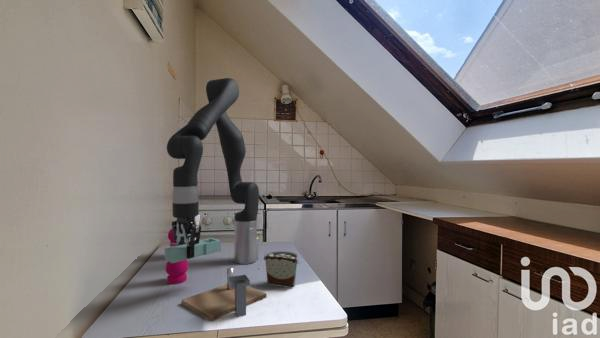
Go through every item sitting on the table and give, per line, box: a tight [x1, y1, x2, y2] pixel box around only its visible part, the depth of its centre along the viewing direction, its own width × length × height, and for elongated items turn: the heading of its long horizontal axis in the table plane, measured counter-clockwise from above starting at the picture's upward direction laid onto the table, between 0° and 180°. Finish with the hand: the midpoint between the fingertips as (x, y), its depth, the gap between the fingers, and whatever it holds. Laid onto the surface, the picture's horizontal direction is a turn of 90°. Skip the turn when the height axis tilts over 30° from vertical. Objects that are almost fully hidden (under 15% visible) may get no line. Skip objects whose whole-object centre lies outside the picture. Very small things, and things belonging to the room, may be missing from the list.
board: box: [180, 283, 267, 322], centre depth 88 cm, size 19×15×1 cm
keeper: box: [228, 274, 251, 317], centre depth 81 cm, size 6×5×8 cm
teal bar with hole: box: [164, 237, 222, 263], centre depth 94 cm, size 16×5×4 cm, turn 140°
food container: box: [263, 250, 300, 288], centre depth 102 cm, size 12×6×10 cm, turn 71°
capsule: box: [226, 267, 234, 290], centre depth 93 cm, size 2×2×8 cm
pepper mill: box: [165, 228, 189, 285], centre depth 103 cm, size 7×7×20 cm
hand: (186, 255), depth 92 cm, fingers closed on teal bar with hole, 4 cm apart
